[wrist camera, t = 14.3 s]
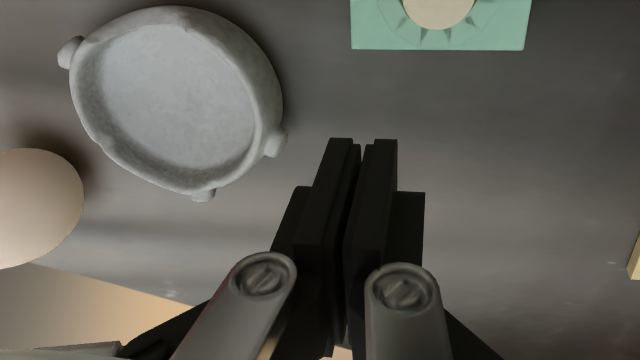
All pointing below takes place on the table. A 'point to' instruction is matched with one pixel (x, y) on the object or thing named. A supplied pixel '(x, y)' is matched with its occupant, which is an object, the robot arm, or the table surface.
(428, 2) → the button
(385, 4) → the button panel
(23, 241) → the egg
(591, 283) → the table surface
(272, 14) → the table surface
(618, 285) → the table surface
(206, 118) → the dish
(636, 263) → the bracket
